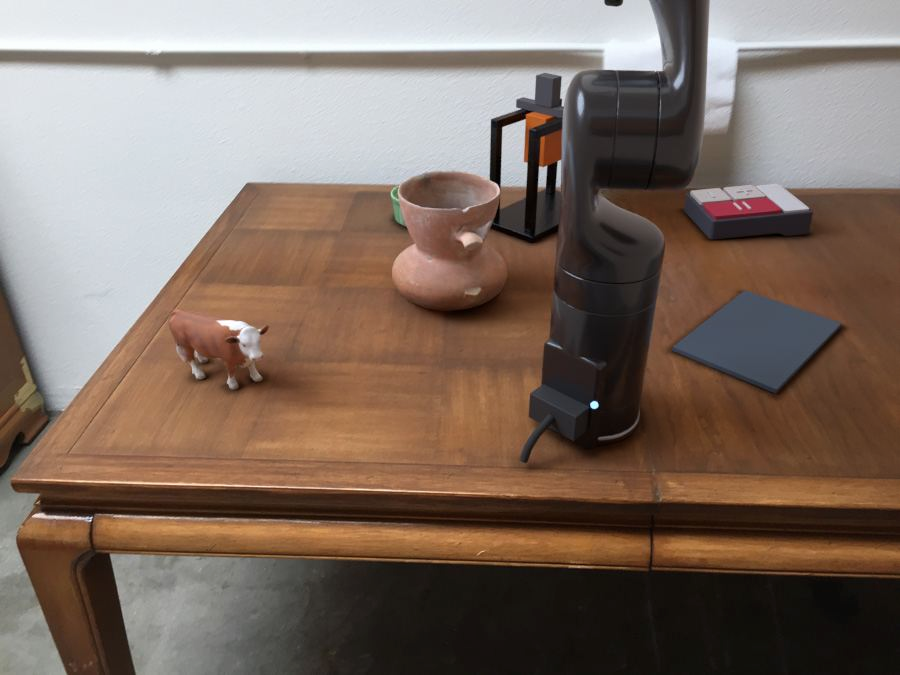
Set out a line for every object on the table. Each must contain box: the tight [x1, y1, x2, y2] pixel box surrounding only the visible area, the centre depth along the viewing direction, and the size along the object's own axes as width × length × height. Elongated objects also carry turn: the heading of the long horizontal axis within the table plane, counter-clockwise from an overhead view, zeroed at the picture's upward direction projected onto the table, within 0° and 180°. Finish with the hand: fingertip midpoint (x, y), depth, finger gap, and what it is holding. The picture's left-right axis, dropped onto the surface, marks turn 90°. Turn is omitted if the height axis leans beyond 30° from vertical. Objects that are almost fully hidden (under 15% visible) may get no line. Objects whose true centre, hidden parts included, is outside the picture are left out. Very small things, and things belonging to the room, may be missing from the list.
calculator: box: [683, 183, 814, 240], centre depth 115 cm, size 11×4×15 cm
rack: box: [489, 97, 563, 244], centre depth 114 cm, size 17×10×16 cm, turn 137°
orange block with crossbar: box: [515, 72, 564, 168], centre depth 110 cm, size 5×10×12 cm, turn 47°
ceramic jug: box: [391, 170, 508, 311], centre depth 95 cm, size 18×14×14 cm
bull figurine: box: [168, 308, 270, 391], centre depth 80 cm, size 4×13×8 cm, turn 58°
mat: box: [671, 289, 843, 395], centre depth 88 cm, size 18×12×1 cm, turn 137°
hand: (628, 0), depth 98 cm, fingers open, 8 cm apart
